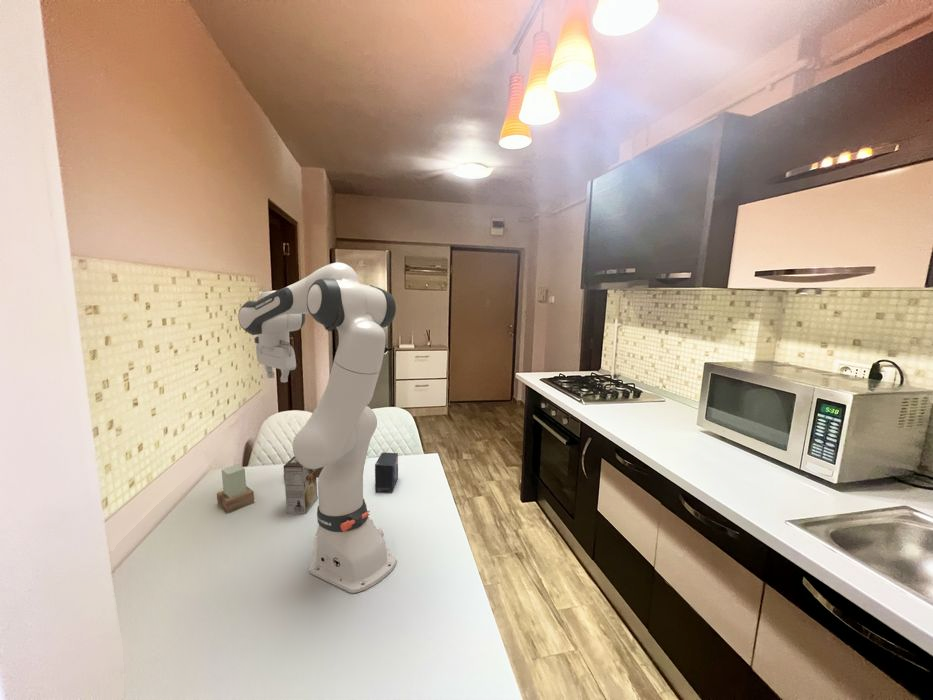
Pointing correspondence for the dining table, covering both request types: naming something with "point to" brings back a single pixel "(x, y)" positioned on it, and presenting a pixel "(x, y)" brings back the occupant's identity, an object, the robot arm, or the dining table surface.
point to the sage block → (234, 480)
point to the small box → (386, 472)
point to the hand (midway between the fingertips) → (277, 379)
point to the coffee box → (299, 487)
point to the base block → (235, 500)
